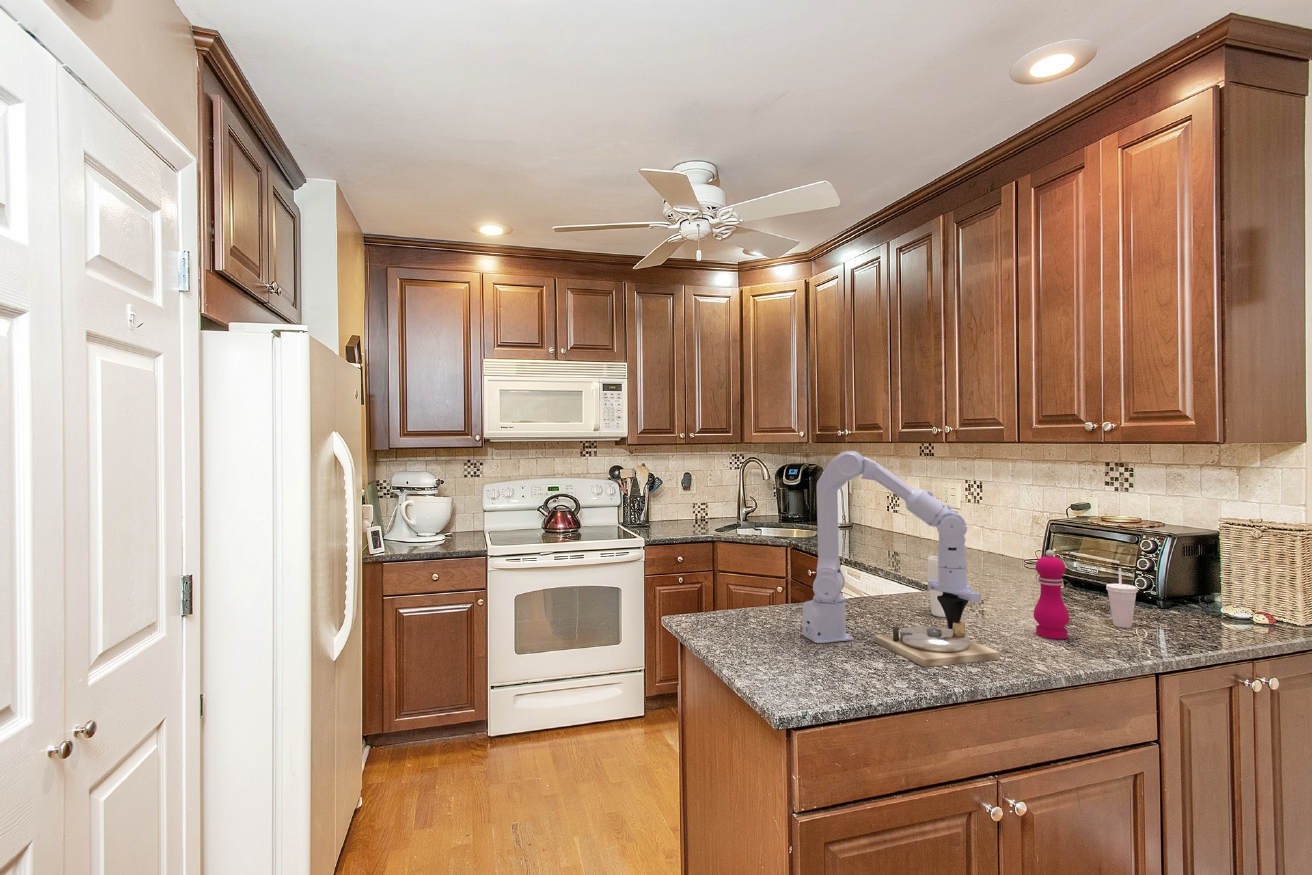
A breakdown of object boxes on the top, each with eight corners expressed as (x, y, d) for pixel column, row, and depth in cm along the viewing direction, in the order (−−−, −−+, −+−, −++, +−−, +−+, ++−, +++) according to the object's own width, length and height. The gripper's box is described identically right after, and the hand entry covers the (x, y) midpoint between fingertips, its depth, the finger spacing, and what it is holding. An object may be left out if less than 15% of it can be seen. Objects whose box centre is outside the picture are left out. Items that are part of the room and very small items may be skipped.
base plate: (924, 667, 134) (924, 644, 134) (874, 641, 151) (874, 622, 151) (999, 659, 138) (999, 637, 138) (942, 635, 156) (942, 616, 156)
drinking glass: (952, 619, 169) (951, 561, 169) (925, 616, 173) (924, 558, 174) (959, 614, 175) (957, 557, 175) (932, 610, 179) (931, 555, 179)
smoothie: (1128, 622, 165) (1127, 566, 165) (1144, 629, 159) (1143, 570, 159) (1101, 622, 166) (1100, 565, 166) (1116, 629, 159) (1115, 570, 159)
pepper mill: (1075, 640, 150) (1073, 552, 151) (1040, 639, 152) (1038, 551, 152) (1062, 631, 157) (1060, 547, 158) (1029, 630, 159) (1027, 547, 159)
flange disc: (905, 649, 139) (904, 628, 139) (896, 631, 153) (895, 611, 153) (977, 653, 136) (976, 631, 136) (961, 634, 150) (960, 614, 150)
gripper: (991, 571, 140) (993, 635, 139) (945, 560, 154) (947, 618, 154) (963, 573, 138) (964, 638, 138) (919, 561, 152) (920, 621, 152)
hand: (953, 628), depth 145 cm, fingers closed
